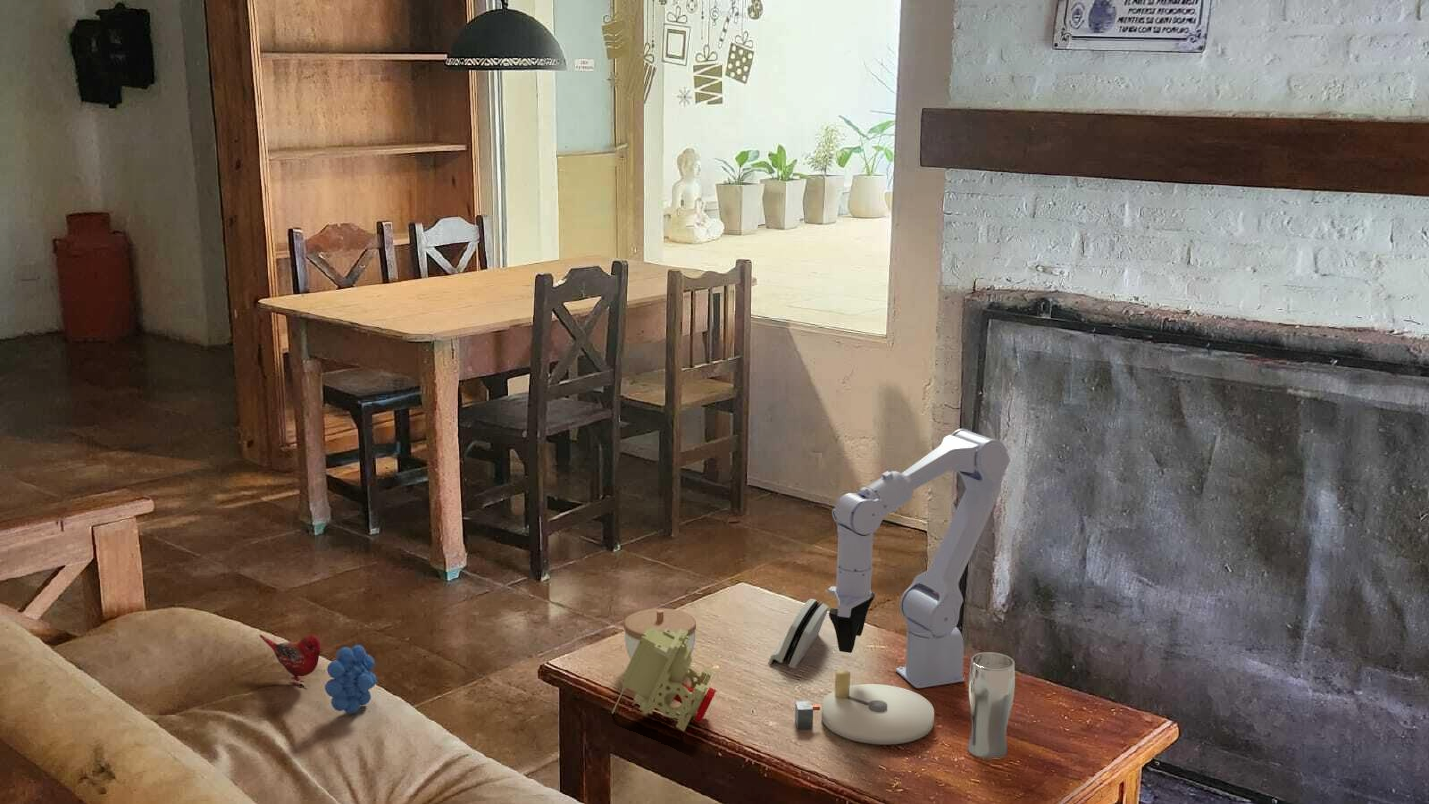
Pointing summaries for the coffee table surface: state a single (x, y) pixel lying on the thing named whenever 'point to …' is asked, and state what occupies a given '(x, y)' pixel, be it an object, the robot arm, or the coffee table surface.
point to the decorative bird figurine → (297, 655)
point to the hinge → (801, 633)
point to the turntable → (876, 712)
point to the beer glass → (990, 703)
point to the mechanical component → (667, 677)
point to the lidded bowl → (657, 625)
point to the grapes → (350, 679)
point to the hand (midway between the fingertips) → (850, 643)
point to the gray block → (804, 714)
